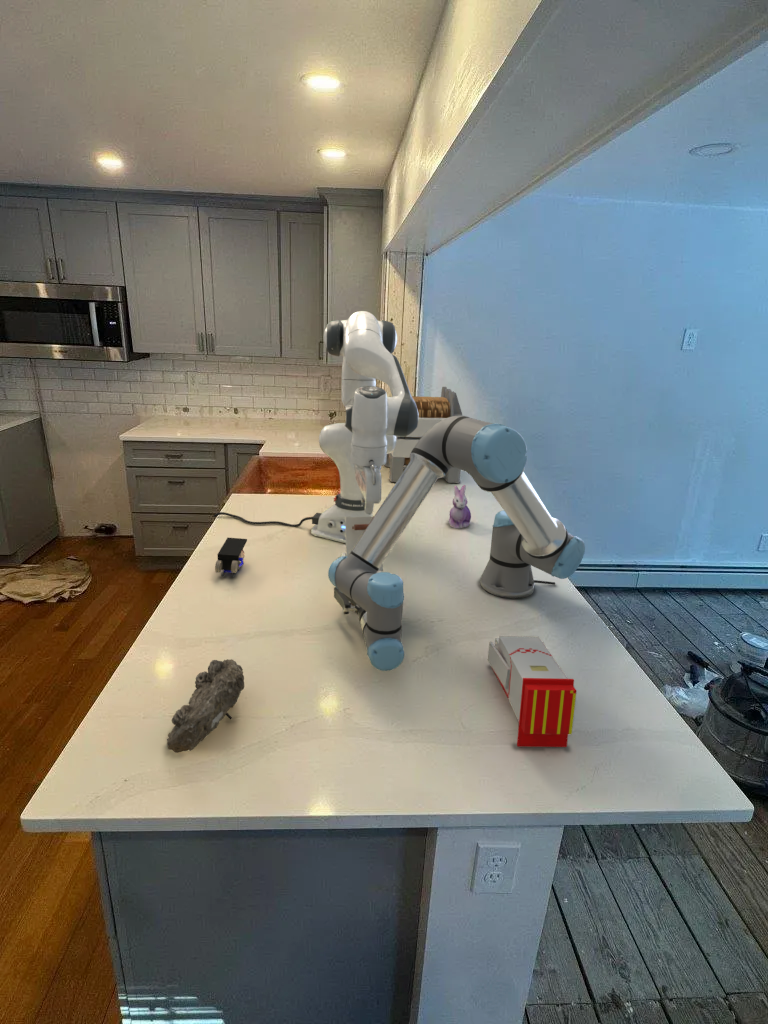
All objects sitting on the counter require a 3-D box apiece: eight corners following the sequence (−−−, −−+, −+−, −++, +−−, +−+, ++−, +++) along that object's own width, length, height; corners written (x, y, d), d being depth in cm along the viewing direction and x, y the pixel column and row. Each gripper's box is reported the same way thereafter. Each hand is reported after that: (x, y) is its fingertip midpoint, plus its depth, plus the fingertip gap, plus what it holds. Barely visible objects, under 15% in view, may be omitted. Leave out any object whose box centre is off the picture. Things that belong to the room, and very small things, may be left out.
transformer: (382, 463, 289) (386, 382, 275) (445, 464, 293) (451, 384, 279) (390, 482, 257) (394, 392, 243) (460, 483, 261) (468, 394, 247)
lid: (345, 517, 148) (348, 516, 141) (380, 516, 150) (386, 515, 142) (346, 571, 148) (349, 573, 140) (382, 570, 149) (387, 572, 142)
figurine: (456, 530, 205) (460, 491, 199) (441, 521, 213) (444, 483, 208) (477, 527, 209) (481, 488, 204) (461, 518, 217) (465, 480, 212)
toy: (536, 619, 129) (586, 686, 99) (531, 673, 131) (578, 754, 102) (483, 618, 128) (517, 685, 99) (479, 672, 131) (511, 753, 102)
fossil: (192, 660, 117) (244, 628, 112) (224, 691, 120) (276, 661, 115) (142, 746, 98) (202, 712, 93) (182, 779, 101) (242, 748, 96)
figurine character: (238, 584, 162) (249, 557, 175) (236, 562, 158) (247, 536, 172) (215, 584, 161) (227, 556, 175) (212, 561, 158) (225, 535, 171)
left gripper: (389, 467, 129) (386, 523, 134) (374, 445, 148) (372, 495, 152) (361, 467, 128) (359, 524, 133) (350, 445, 147) (349, 495, 151)
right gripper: (328, 637, 130) (321, 591, 151) (421, 631, 134) (402, 588, 155) (328, 608, 128) (321, 566, 149) (423, 603, 132) (404, 563, 152)
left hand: (366, 508), depth 143 cm, fingers open, 4 cm apart
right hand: (362, 577), depth 152 cm, fingers closed on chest, 9 cm apart
